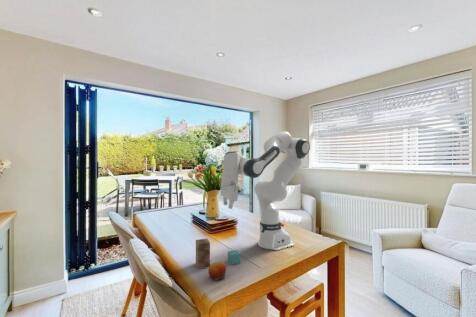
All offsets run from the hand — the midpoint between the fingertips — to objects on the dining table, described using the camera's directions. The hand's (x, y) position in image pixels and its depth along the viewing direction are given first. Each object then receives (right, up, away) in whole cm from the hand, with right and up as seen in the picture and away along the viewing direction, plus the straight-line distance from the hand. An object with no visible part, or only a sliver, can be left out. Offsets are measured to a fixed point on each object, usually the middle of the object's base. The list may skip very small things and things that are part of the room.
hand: (227, 206), depth 123 cm
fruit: (-4, -28, -20) cm, 35 cm away
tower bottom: (-12, -28, -8) cm, 31 cm away
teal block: (+3, -28, -4) cm, 28 cm away
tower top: (-12, -22, -8) cm, 26 cm away
